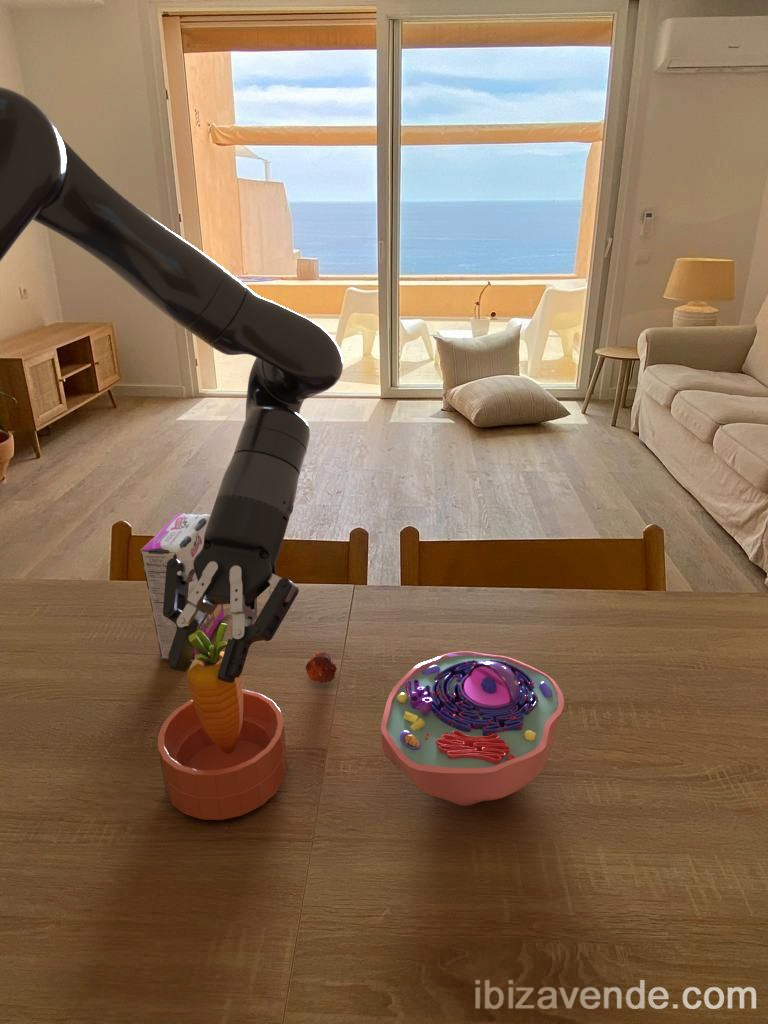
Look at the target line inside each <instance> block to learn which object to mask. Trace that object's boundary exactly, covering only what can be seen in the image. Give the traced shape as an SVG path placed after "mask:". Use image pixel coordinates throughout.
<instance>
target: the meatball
mask: <svg viewBox="0 0 768 1024" xmlns="http://www.w3.org/2000/svg"><path fill="white" fill-rule="evenodd" d="M337 670H338V668H337V666H336V663H335V662H334V661H333V660H332V657H331V656H330V654H329V653H327V652H326V651H319V652H316V653H315V654H313V656H311V658H310V660H309V661H307V663H306V665H305V671H306V674H307V676H308V678H309V679H310V681H311V682H313V683H317V682H319V683H331V682H332V681H333V680H334V679H335V675H336V673H337Z"/></svg>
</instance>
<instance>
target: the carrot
mask: <svg viewBox="0 0 768 1024" xmlns="http://www.w3.org/2000/svg"><path fill="white" fill-rule="evenodd" d="M227 628H228V624H227V623H225V622H224V623H223V622H222V623H221V622H220V624H219V627H218V629H217V632H216V637H215V641H214V645H212V643H211V641H210V639H208V638H207V637H206V635H205V634H204V633H203V632H202V631H201V630H198V631H196V632H195V633H193V634H191V635H190V636H189V641H190V642H191V644H192V645H193V647H194V648H195V649H196V650H197V651H198V652H199V653H200V654H197V655H195V658H196V659H195V660H194V661H193V662H191V663H190V665H189V667H188V670H187V671H186V672H187V673H186V679H187V684H188V688H189V692H190V696H191V700H193V703H194V706H195V710H196V712H197V715H198V717H199V719H200V721H201V723H202V725H203V727H204V729H205V731H206V733H207V734H208V736H209V737H210V738H211V739H212V741H213V742H214V743H215V744H216V745H217V746H218V747H219V748H220V749H221V750H222V751H223V752H224V753H227V754H230V753H232V752H233V751H234V749H235V746H236V744H237V741H238V738H239V735H240V731H241V727H242V721H243V690H244V688H243V682H242V674H241V675H240V676H239V678H237V677H235V680H234V682H233V683H229V682H225V681H221V680H219V679H218V672H219V669H220V665H221V662H222V659H223V655H224V652H225V651H223V649H226V645H227V642H228V641H226V640H224V637H225V633H226V631H227ZM203 644H204V645H203Z"/></svg>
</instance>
